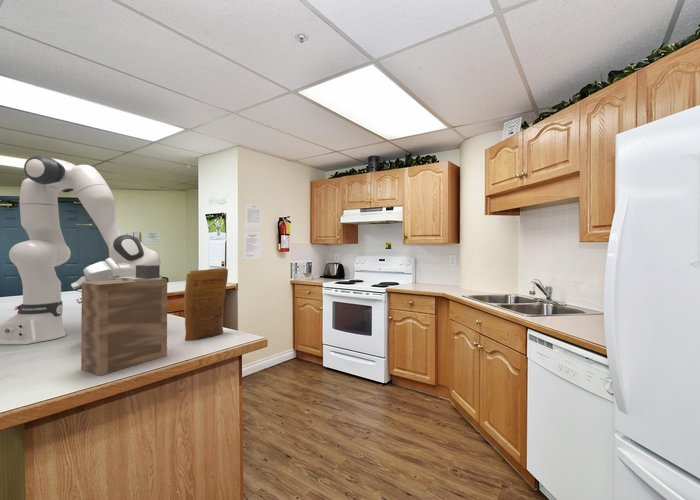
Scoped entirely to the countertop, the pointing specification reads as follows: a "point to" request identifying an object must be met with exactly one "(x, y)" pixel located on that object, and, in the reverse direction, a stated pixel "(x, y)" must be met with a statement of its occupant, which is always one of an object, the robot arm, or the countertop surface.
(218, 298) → the pancake mix bag
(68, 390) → the countertop surface
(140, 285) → the brown wooden box
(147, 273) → the grey metal bar
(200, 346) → the countertop surface
